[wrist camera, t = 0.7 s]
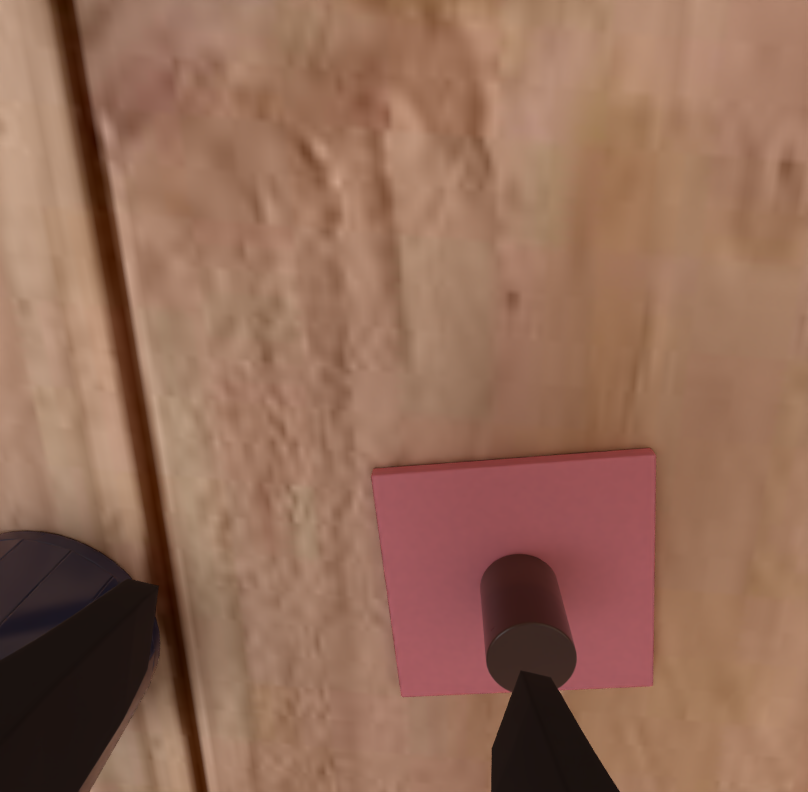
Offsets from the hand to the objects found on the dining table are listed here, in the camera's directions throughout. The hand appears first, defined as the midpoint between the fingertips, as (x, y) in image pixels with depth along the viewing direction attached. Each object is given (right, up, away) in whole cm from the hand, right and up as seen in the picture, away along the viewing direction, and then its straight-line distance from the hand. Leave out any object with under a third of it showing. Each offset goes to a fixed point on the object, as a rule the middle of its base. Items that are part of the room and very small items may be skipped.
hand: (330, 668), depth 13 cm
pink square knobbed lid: (+5, -1, +10) cm, 12 cm away
